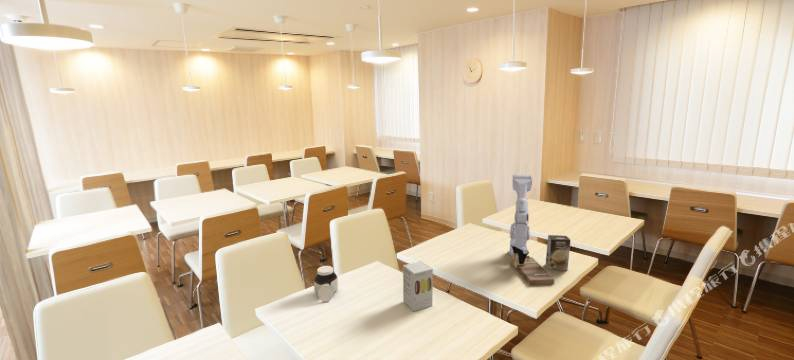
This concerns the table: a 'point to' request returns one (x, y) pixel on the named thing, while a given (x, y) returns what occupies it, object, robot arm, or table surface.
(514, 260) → the beige block
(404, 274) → the supplement box
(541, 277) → the walnut board
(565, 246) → the coffee box
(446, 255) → the table surface
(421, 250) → the table surface
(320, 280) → the spread jar
